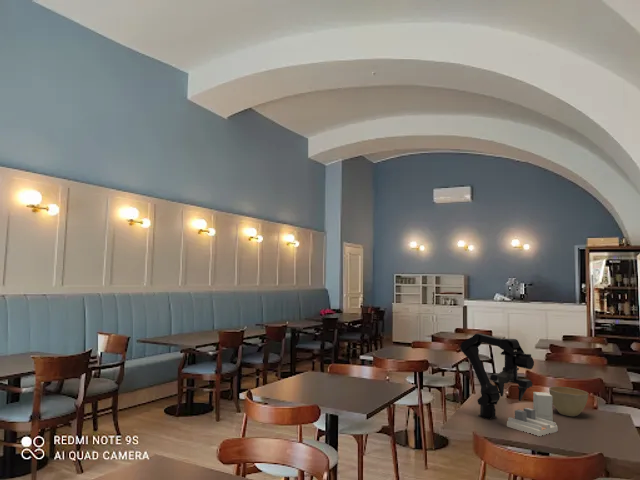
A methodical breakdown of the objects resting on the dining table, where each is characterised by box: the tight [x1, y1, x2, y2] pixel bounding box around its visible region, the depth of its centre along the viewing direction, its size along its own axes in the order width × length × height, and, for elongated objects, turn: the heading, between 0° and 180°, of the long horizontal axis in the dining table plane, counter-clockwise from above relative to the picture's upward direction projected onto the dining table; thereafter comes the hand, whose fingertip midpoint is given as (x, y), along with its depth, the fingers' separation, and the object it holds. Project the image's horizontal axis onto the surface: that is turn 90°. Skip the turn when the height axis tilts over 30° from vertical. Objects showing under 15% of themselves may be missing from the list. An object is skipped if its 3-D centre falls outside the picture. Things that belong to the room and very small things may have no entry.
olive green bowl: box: [548, 386, 589, 417], centre depth 247 cm, size 18×18×12 cm
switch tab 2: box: [523, 407, 535, 420], centre depth 225 cm, size 4×3×5 cm
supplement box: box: [532, 391, 554, 422], centre depth 235 cm, size 7×7×13 cm
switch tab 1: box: [514, 409, 527, 422], centre depth 221 cm, size 4×3×5 cm
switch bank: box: [506, 416, 559, 437], centre depth 220 cm, size 16×15×4 cm
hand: (510, 398), depth 226 cm, fingers open, 9 cm apart
